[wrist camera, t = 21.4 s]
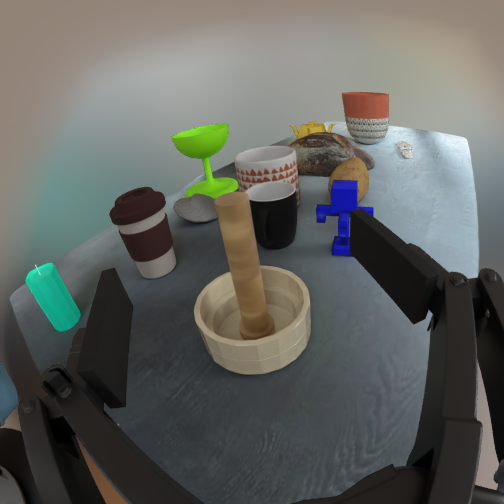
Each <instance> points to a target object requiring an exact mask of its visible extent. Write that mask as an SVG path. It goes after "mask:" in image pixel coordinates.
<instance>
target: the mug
mask: <svg viewBox="0 0 504 504" xmlns="http://www.w3.org/2000/svg"><path fill="white" fill-rule="evenodd" d="M245 193H247V194H248V196H249V201H250V207H251V213H252V220H253V226H254V232H255V237H256V239H257V241H258V243H259V244H260V245H261V246H262V247H264V248H267V249H281V248H284V247H287V246H288V245H290V244H291V243H292V241H293V239H294V237H295V233H296V225H297V194H296V188H295V186H294V185H292V184H290V183H287V182H266V183H261V184H257V185H255V186H252V187H250V188H249V189H247V190H246V192H245Z"/></svg>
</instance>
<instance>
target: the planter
mask: <svg viewBox="0 0 504 504" xmlns="http://www.w3.org/2000/svg"><path fill="white" fill-rule="evenodd" d="M342 99H343V105H344V113H345V119H346V125H347V129H348V131H349V133H350V135H351V136H352V137H353V138H354V139H355V140H357V141H358V142H360V143H364V144H375V143H378V142H379V141H381V140H382V139H383V138H384V137H385V135H386V133H387V130H388V124H389V95H388V94H384V93H371V92H370V93H369V92H348V93H342Z"/></svg>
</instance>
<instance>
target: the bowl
mask: <svg viewBox="0 0 504 504" xmlns="http://www.w3.org/2000/svg"><path fill="white" fill-rule="evenodd" d="M260 268H261V275H262V281H263V287H264V293H265V299H266V306H267V312H268V314H270V315H271V316H272V317H273V319H274V325H275V333H274V335H271V336H267V337H264V338H261V339H257V340H243V338H242V337H241V334H240V330H239V322H240V320H241V314H240V310H239V306H238V302H237V298H236V293H235V289H234V285H233V281H232V277H231V272H228V273H226V274H224V275H222V276H219V277H218V278H216V279H215V280H213V281H212V282H211V283H210V284H208V285H207V286H206V287H205V288H204V289H203V291H202V292H201V293H200V295H199V296H198V298H197V301H196V304H195V307H194V315H195V321H196V324H197V326H198V329H199V331H200V334H201V336H202V339H203V341H204V344H205V346H206V349H207V351H208V353H209V354H210V355H211V357H212V358H213V360H214V361H215V362H216V363H218V364H219V365H221V366H222V367H224V368H225V369H227V370H229V371H233V372H237V373H241V374H245V375H246V374H265V373H268V372H272V371H275V370H278V369H281V368H283V367H285V366H286V365H288V364H289V363H291V362H292V361H294V360H295V359H297V357H298V356H299V355H300V354H301V353H302V351H303V350H304V349H305V348H306V346H307V343H308V340H309V337H310V334H311V322H310V298H309V291H308V289H307V287H306V285H305V284H304V282H303V281H302V280H301V279H300V278H299V277H297V276H296V275H295V274H293V273H292V272H290V271H287V270H284V269H281V268H279V267H272V266H260Z"/></svg>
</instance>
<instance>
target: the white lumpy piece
mask: <svg viewBox="0 0 504 504" xmlns="http://www.w3.org/2000/svg"><path fill="white" fill-rule="evenodd" d="M404 146H405V147H404ZM398 147H399V148H400V151H402V155H403V156H404V157H405V158H412V157H413V154H412V153H411V152H412V149H411V148H412V147H411V145H409V144H408V143H406V142H404V141H401V142H399V143H398ZM403 149H407V150H410V151H404V150H403Z"/></svg>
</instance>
